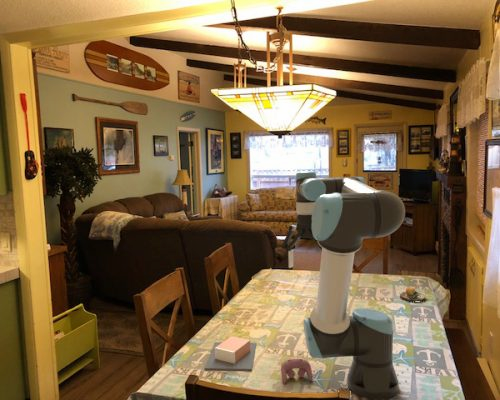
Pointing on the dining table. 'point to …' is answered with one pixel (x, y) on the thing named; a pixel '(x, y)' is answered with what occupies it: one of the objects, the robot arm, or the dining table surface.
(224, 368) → the mat
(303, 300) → the dining table surface
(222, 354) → the block
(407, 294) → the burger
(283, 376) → the video game controller
